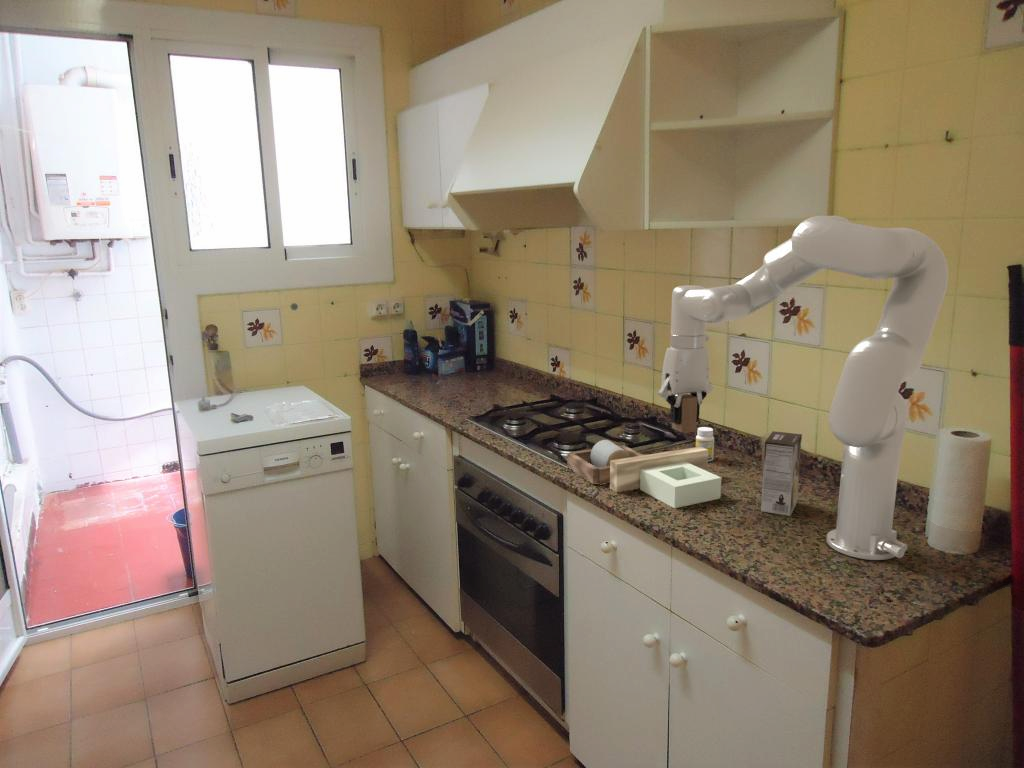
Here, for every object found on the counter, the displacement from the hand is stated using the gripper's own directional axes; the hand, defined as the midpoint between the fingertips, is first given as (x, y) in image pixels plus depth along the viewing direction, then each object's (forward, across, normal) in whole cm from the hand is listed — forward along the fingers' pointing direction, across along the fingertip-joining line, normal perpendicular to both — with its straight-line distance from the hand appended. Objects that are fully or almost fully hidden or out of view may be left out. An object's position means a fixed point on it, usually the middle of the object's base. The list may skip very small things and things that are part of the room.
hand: (684, 421), depth 161 cm
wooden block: (+2, 0, 0) cm, 2 cm away
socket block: (+18, 0, -1) cm, 18 cm away
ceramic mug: (+18, +6, -21) cm, 28 cm away
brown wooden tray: (+18, +7, -21) cm, 28 cm away
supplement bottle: (+18, -21, -19) cm, 34 cm away
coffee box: (+18, -15, +15) cm, 28 cm away
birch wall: (+18, 0, -9) cm, 20 cm away
